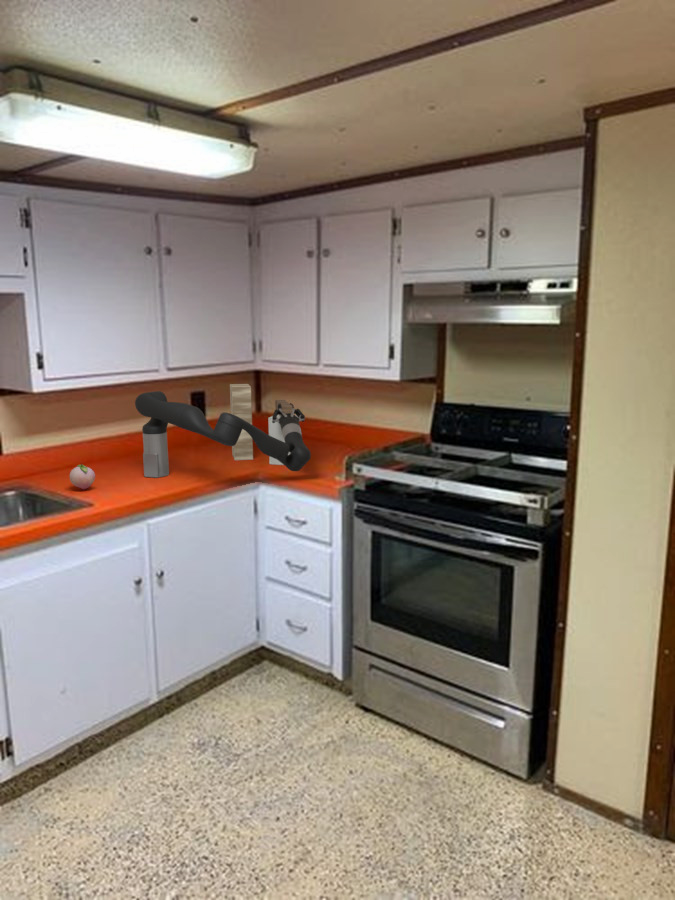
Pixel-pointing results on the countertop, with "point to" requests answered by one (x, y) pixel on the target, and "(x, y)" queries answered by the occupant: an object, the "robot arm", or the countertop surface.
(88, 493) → the countertop surface
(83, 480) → the decorative fruit
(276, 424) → the short block
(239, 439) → the tall stand
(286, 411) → the long wooden bar
